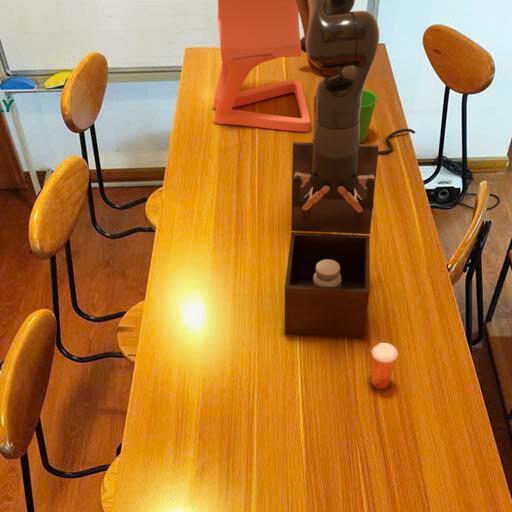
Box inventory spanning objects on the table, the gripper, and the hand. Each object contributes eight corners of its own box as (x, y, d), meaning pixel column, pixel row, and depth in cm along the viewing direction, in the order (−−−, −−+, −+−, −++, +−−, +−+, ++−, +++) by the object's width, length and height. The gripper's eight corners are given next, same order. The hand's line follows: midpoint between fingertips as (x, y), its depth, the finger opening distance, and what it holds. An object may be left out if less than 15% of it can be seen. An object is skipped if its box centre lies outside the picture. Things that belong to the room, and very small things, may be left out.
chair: (212, 94, 198) (200, -43, 171) (300, 89, 199) (302, -49, 172) (215, 138, 183) (203, -5, 156) (311, 132, 184) (315, -11, 157)
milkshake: (361, 374, 130) (366, 337, 122) (389, 372, 130) (396, 335, 122) (365, 393, 127) (371, 356, 119) (394, 390, 127) (401, 353, 119)
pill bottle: (343, 298, 142) (346, 260, 134) (335, 316, 138) (338, 279, 131) (316, 292, 143) (318, 254, 135) (308, 310, 140) (309, 273, 132)
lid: (378, 146, 124) (378, 144, 125) (292, 143, 126) (293, 142, 126) (369, 234, 136) (369, 232, 136) (291, 231, 137) (291, 229, 138)
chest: (363, 338, 136) (369, 291, 126) (284, 334, 137) (284, 287, 127) (364, 282, 146) (369, 235, 136) (290, 279, 147) (291, 231, 138)
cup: (371, 148, 179) (375, 107, 170) (337, 145, 180) (339, 104, 172) (375, 130, 184) (379, 90, 176) (341, 127, 186) (344, 87, 177)
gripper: (379, 132, 115) (370, 214, 127) (294, 130, 116) (293, 211, 128) (380, 157, 110) (370, 239, 123) (291, 155, 111) (291, 236, 124)
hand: (331, 225), depth 125 cm, fingers open, 8 cm apart
